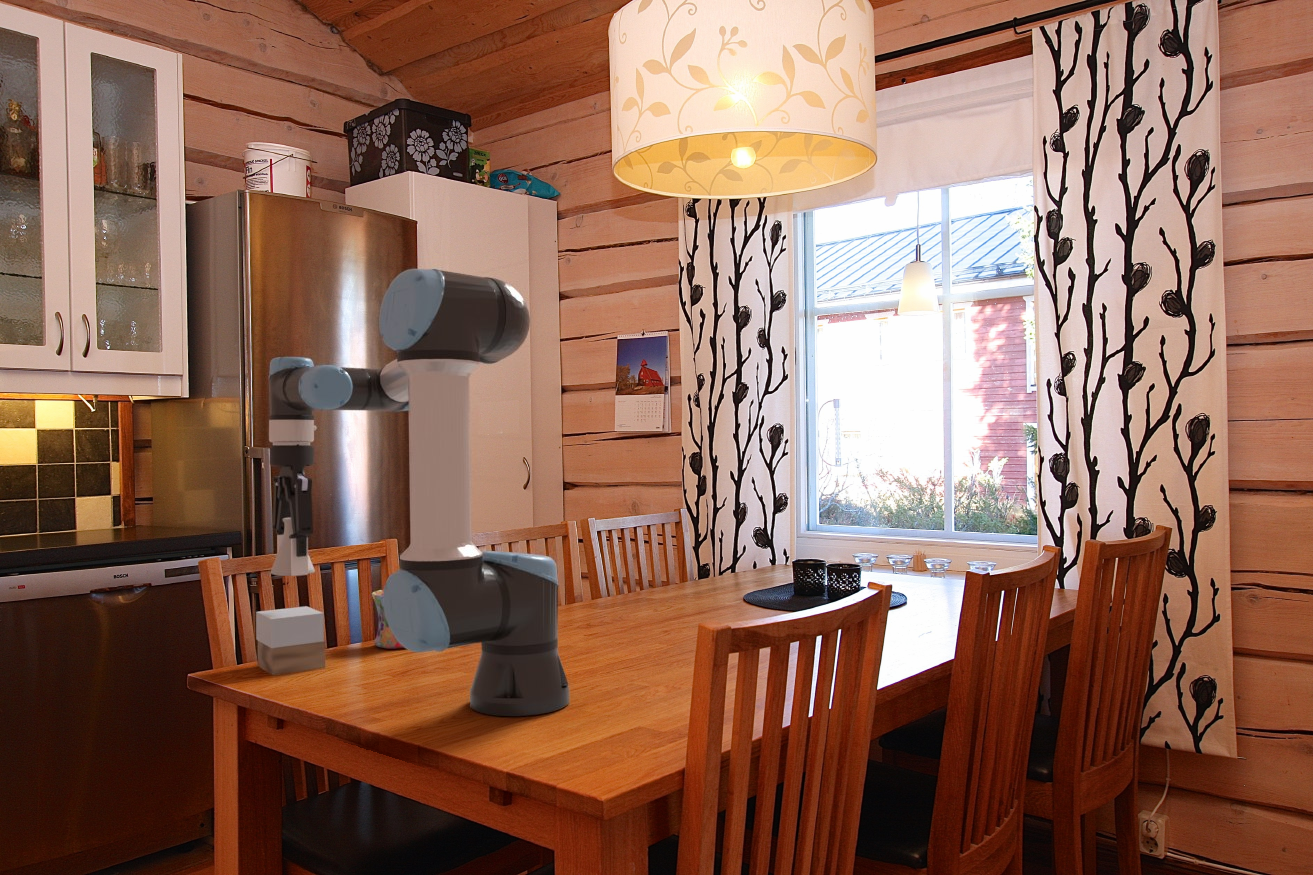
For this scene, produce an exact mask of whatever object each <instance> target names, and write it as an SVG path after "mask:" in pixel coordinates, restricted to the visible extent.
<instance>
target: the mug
mask: <svg viewBox="0 0 1313 875" xmlns="http://www.w3.org/2000/svg"><path fill="white" fill-rule="evenodd" d="M383 591H384V589H379V590H375V591H373V592H372V593H371V597H372V599H373V601H374V604H375V607H376V611H377V617H378V628H377V634H376V637H375V639H374V641H373V644H374V645H375V646H376V647H378V648H382V649H387V650H388V649H389V650H391V649H392V650H393V649H396V650H397V649H406V648H405V647H403V646H402V645H401V644H400V643H399V642H398V641H397V639H396V638H395V636H394V634H393V633H392V632H391V630H390V627H389V625H388V622H387V619H386V616H385V611H384V605H383Z"/></svg>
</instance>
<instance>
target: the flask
mask: <svg viewBox="0 0 1313 875" xmlns="http://www.w3.org/2000/svg"><path fill="white" fill-rule="evenodd" d="M283 522H284V524H285V527H284V535H283V540H282V543H281V546H280V548H279V551H278V554H277V553H276V557H275V560H274V562H273V564H272V567H271V569H270V572H269V573H270V574H271V575H274V576H279V577H281V576H282V577H284V576H286V577H291V539H290V538H289V536H290V535H291V534H293V530H292V521H291V518H283ZM313 573H316V570H315V567H314V564H313V562H312V561H311V557H310V554H308V575H309V574H313Z"/></svg>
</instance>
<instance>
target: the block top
mask: <svg viewBox="0 0 1313 875" xmlns="http://www.w3.org/2000/svg"><path fill="white" fill-rule="evenodd" d="M255 616H256V617H255V622H256V623H255V625H256V628H255V632H256V634H255V636H256V638H255V639H256V640H257V642H258V641H260V642H261V643H263V644H265V645H267V646H268V647H270V648H277V647H284V646H292V645H300V644H307V643H315V642H322V641H324V640H325V636H324V634H325V631H324V630H325V629H324V628H325V627H324V619H325V618H324V612H322V611H320V610H317V609H314V608H312V607H309V606H306V605H305V606H298V607H297V606H295V607H289V608H288V607H287V608H280V609H279V608H278V609H269V610H260V611H255Z"/></svg>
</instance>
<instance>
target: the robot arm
mask: <svg viewBox="0 0 1313 875" xmlns="http://www.w3.org/2000/svg"><path fill="white" fill-rule="evenodd" d="M378 318H379V319H378V325H379V327H378V328H379V333H380V336H381V337H382V342H383V344H384V345H385V346H386V347H388V348H389V349H391V350H393V351H394V352H396V358H395V359H393V360H392V361H390V362H389V363H387V364H385V365H383V366H382V367H380V368H366V367H365V368H364V367H345V366H342V367H341V366H338V365H335V364H322V363H321V364H317V365H314V362H313V360H312V359H311V358H309V357H302V356H301V357H299V356H284V357H283V356H282V357H280V356H279V357H277V356H276V357H274V358H272V359H271V360H270V362H269V375H268V377H267V378H268V380H267V381H268V390H269V391H268V393H269V394H268V396H269V400H268V401H269V420H268V441H269V442H270V443H272V445H270V447H269V466H271V467H279V475H277V476H275V475H274V476H273V478H272V481H273V506H272V507H273V512H272V513H273V514H272V529H273V531H275V534H276V536H277V537H276V538H277V539H276V540H277V541H276V542H277V543H276V544H277V545H276V546H277V548H276V549H277V551H276V555H277V554H278V551H279V548H280V546H281V543H282V540H283V535H284V527H285V524H284V522H283V518H291V521H292V530H293V534H291V535H290V536H289V538H290V539H291V576H292V577H294V576H295V577H296V576H308V575H309V574H308V555H309V538H310V536H312V535H313V534H314V526H313V523H314V522H313V500H312V499H313V497H312V488H313V479H312V477H311V478H310V477H307V476H306V472H305V471H306V470H305V467H312V466H313V465H315V446H314V445H311V443H313V442H314V441H315V431H317V428H318V427H317V425H315V411H366V412H367V411H371V412H372V411H373V412H374V411H375V412H390V413H391V412H392V413H397V412H406V411H408V441H409V442H408V449H409V450H408V452H409V453H408V455H409V456H408V457H409V458H408V459H409V464H408V466H409V521H410V524H409V525H410V526H409V528H410V535H409V536H410V544H409V546H408V547H407V548H406V549H405V550H404V551H403V552H402V553H401V554H400V555H399V570H395V571H394V572H393V573H391V574H390V575H389V577H388V578H387V580H386V581H385V583H386V584H385V585H384V587H383V590H384V591H383V605H384V611H385V616H386V619H387V622H388V625H389V627H390V630H391V632H392V633H393V634H394V636H395V638H396V639H397V641H398V642H399V643H400V644H401V645H402V646H403V647H405V648H404V649H406V650H408V651H410V652H413V653H420V654H421V653H429V652H438V653H440V652H443V651H445V650H448V649H453V648H459V647H464V646H469V645H474V644H480V643H481V644H480V645H481V647H480V648H481V652H480V654H481V655H480V658H479V661H478V665H477V668H476V671H475V674H474V677H473V680H472V684H471V687H470V690H469V705H470V706H469V707H470V708H471V709H472V710H473V711H475V712H478V713H480V714H485V715H491V716H497V717H499V716H501V717H502V716H503V717H522V716H523V717H528V716H536V715H537V716H538V715H542V714H546V713H547V714H548V713H551V712H557V711H559V710H561V709H564V708H565V707H566V706H567V705H568V704H570V685H569V682H568V678H567V676H566V673H565V670H564V667H563V666H564V665H563V663H562V660H561V657H560V654H559V648H558V646H559V642H558V641H559V639H558V638H559V633H558V632H559V631H558V629H559V628H558V627H559V622H558V618H559V617H558V615H559V614H558V610H559V608H558V606H559V604H558V603H559V601H558V600H559V584H560V583H559V581H558V567H557V566H558V565H557V563H556V561H555V560H554V559H553V558H552V557H551V556H547V555H542V554H534V553H523V552H509V551H497V550H495V551H493V550H486V551H483V552H482V551H481V549H479V548H478V547H477V545H475V543H473V541H472V537H473V536H472V535H473V534H472V485H471V484H472V483H471V480H472V479H471V477H472V475H471V473H472V472H471V424H470V422H471V418H470V417H471V416H470V415H471V411H470V408H471V407H470V404H471V403H470V402H471V401H470V377H471V374H473V372H474V371H475V370H476V369H477V368H478V367H480V364H483V365H493V364H496V363H498V362H501V360H504V359H507V357H508V358H509V357H510V356H511V355H513V354H514V353H515V352H517V351H518V350H519V349H520V348H521V347H522V345H523V344H524V343H525V341H526V339H527V337H528V334H529V330H530V324H531V321H530V320H531V319H530V312H529V309H528V305H527V303H526V301H525V299H524V297H523V296H522V295H521V293H520V292H519V290H517V289H516V288H515V287H513V286H512V285H510V284H509V283H507V282H505V281H503V280H502V279H501V280H500V279H498V278H495V277H487V276H485V277H484V276H478V275H470V274H465V273H461V272H453V271H447V270H442V269H441V270H440V269H437V268H433V269H432V268H431V269H430V268H429V269H428V268H427V269H425V268H410V269H409V268H408V269H406V270H404V271H402V272H400V273H399V274H398V275H396V277H395V278H394V279H393V280H392V281H391V282H390V284H389V286H388V288H387V289H386V291H385V293H384V296H383V298H382V301H381V305H380V310H379V317H378ZM291 576H290V577H291Z"/></svg>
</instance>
